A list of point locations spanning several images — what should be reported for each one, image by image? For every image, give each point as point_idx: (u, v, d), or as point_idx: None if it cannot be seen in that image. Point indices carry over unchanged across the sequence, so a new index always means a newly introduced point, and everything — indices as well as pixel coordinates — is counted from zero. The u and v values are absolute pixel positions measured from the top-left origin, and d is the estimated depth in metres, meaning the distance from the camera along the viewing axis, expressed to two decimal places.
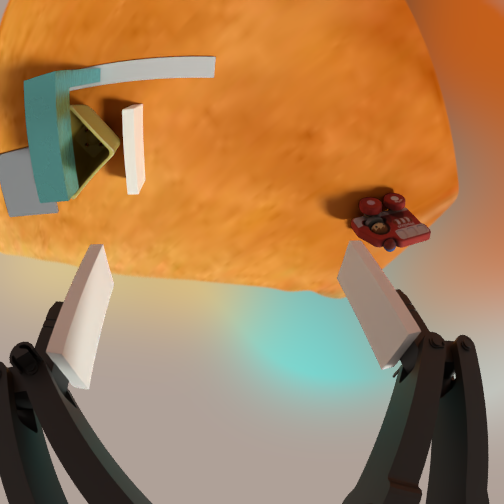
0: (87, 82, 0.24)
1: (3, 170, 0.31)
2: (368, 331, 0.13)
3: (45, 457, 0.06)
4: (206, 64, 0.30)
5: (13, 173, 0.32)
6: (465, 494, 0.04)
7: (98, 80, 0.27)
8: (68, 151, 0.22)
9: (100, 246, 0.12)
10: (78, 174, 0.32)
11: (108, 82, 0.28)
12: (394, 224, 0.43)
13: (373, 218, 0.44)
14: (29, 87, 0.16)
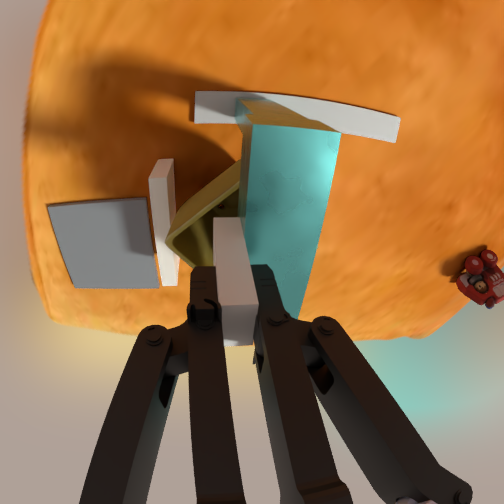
0: None
1: (64, 228, 0.26)
2: None
3: (158, 434, 0.08)
4: (391, 125, 0.25)
5: (83, 234, 0.27)
6: (416, 486, 0.05)
7: None
8: None
9: (225, 219, 0.15)
10: None
11: None
12: (490, 281, 0.38)
13: (476, 277, 0.39)
14: (268, 144, 0.11)
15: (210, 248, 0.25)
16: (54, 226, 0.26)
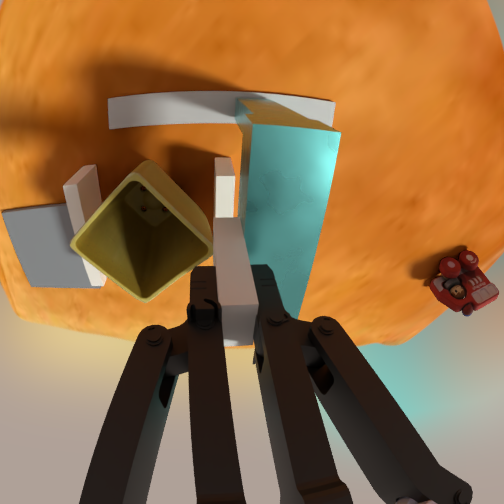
0: None
1: (16, 232, 0.25)
2: None
3: (158, 434, 0.08)
4: (323, 111, 0.23)
5: (31, 237, 0.26)
6: (416, 487, 0.05)
7: None
8: None
9: (225, 219, 0.15)
10: (140, 257, 0.26)
11: (178, 121, 0.22)
12: (469, 286, 0.36)
13: (452, 281, 0.37)
14: (268, 144, 0.11)
15: (125, 250, 0.24)
16: (8, 230, 0.25)
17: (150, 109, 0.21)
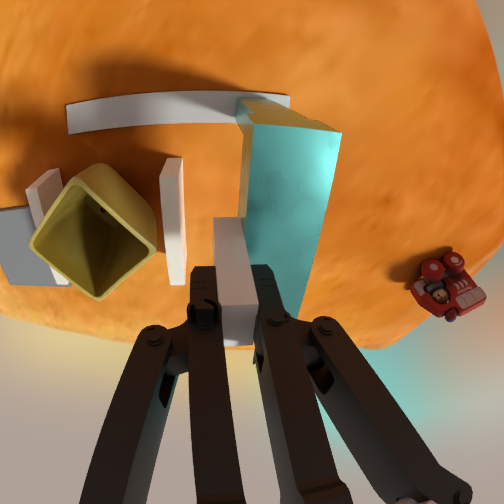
0: None
1: None
2: None
3: (158, 434, 0.08)
4: None
5: (7, 237, 0.25)
6: (416, 487, 0.05)
7: None
8: None
9: (225, 218, 0.15)
10: (97, 257, 0.25)
11: (130, 124, 0.22)
12: (454, 290, 0.36)
13: (435, 284, 0.37)
14: (269, 144, 0.11)
15: (83, 250, 0.23)
16: None
17: (103, 114, 0.20)
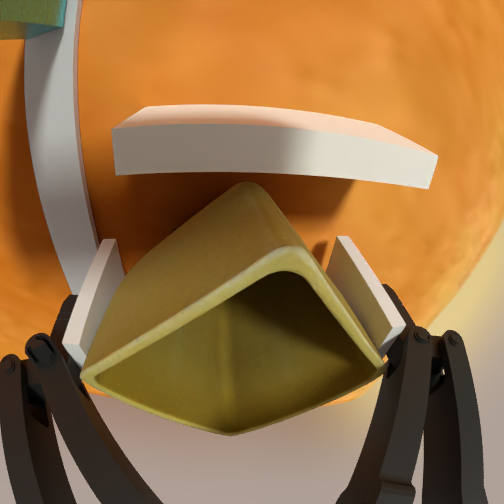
0: None
1: None
2: None
3: (54, 453, 0.06)
4: None
5: None
6: (461, 492, 0.04)
7: None
8: None
9: (113, 240, 0.13)
10: (317, 313, 0.14)
11: (84, 208, 0.13)
12: None
13: None
14: None
15: (291, 339, 0.14)
16: None
17: (75, 249, 0.14)
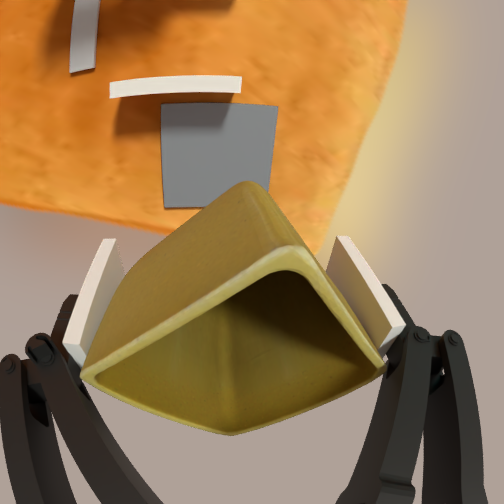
0: None
1: (188, 194, 0.31)
2: None
3: (54, 452, 0.06)
4: None
5: (196, 174, 0.30)
6: (461, 492, 0.04)
7: None
8: None
9: (113, 240, 0.13)
10: (317, 313, 0.14)
11: (95, 12, 0.16)
12: None
13: None
14: None
15: (291, 339, 0.14)
16: (185, 205, 0.32)
17: (82, 36, 0.18)
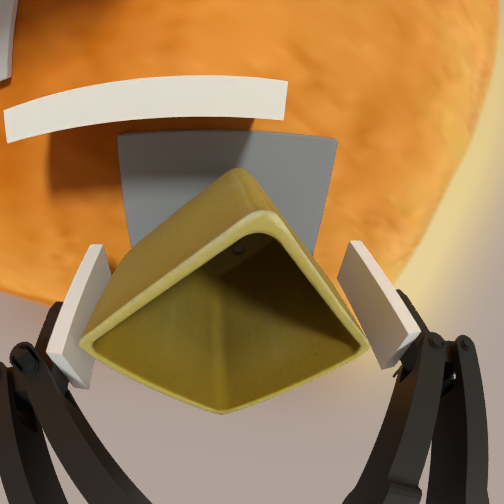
0: None
1: None
2: (368, 331, 0.13)
3: (45, 457, 0.06)
4: None
5: None
6: (466, 494, 0.04)
7: None
8: None
9: (100, 246, 0.12)
10: (304, 295, 0.15)
11: None
12: None
13: None
14: None
15: (279, 320, 0.15)
16: None
17: None
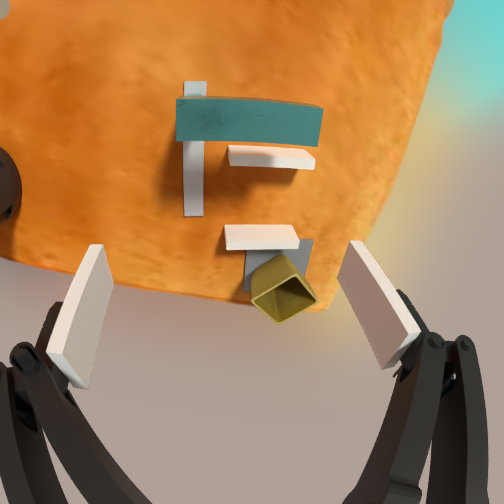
0: None
1: None
2: (368, 331, 0.13)
3: (45, 457, 0.06)
4: (192, 88, 0.32)
5: None
6: (465, 494, 0.04)
7: (200, 94, 0.32)
8: (270, 100, 0.24)
9: (100, 246, 0.12)
10: (301, 288, 0.51)
11: (202, 177, 0.40)
12: None
13: None
14: (185, 133, 0.23)
15: (294, 295, 0.51)
16: None
17: (193, 192, 0.42)
